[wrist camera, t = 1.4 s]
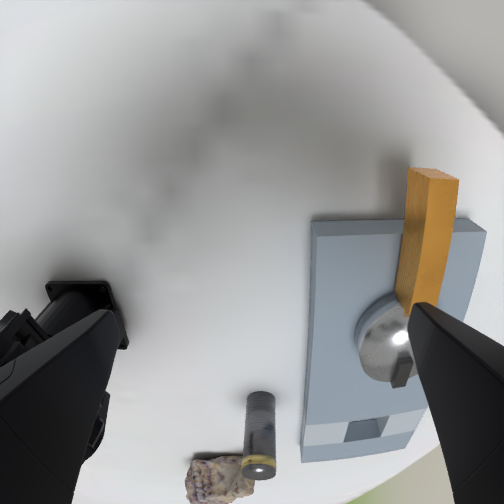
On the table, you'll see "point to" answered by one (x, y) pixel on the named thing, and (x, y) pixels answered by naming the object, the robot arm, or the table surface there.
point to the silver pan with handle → (410, 277)
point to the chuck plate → (344, 326)
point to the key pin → (259, 437)
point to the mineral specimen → (217, 481)
